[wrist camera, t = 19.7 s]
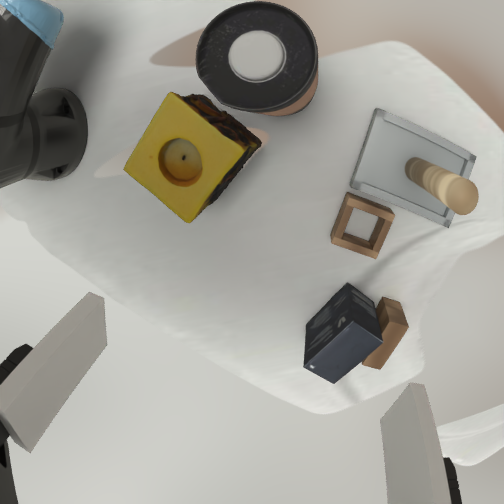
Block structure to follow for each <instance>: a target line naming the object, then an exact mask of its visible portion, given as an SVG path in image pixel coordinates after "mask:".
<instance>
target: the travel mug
mask: <svg viewBox="0 0 504 504" xmlns="http://www.w3.org/2000/svg"><path fill="white" fill-rule="evenodd" d="M196 69H197V73H198V76H199V78H200V79H201V80H202V81H203V83H204V84H205V85H206V86H207V88H208V89H209V90H210V92H211V93H212V94H213V95H214V96H215V97H216V98H217V99H218V100H219V102H220V103H222V104H224V105H226V106H228V107H231V108H234V109H238V110H242V111H248V112H254V113H260V114H265V115H271V116H283V115H290V114H294V113H297V112H299V111H301V110H303V109H304V108H305V107H306V106H307V105H308V104H309V103H310V101H311V100H312V98H313V96H314V93H315V91H316V88H317V83H318V48H317V44H316V40H315V37H314V35H313V33H312V31H311V29H310V28H309V26H308V25H307V24H306V22H305V21H304V20H303V19H302V18H301V17H300V16H299V15H297V14H296V13H295V12H293V11H292V10H290V9H288V8H286V7H284V6H281V5H278V4H275V3H271V2H262V1H254V2H246V3H242V4H238V5H235V6H233V7H230V8H228V9H226V10H224V11H223V12H221V13H220V14H218V15H217V16H216V17H215V18H214V19H213V20H212V21H211V22H210V23H209V24H208V25H207V27H206V28H205V30H204V31H203V33H202V35H201V37H200V39H199V42H198V45H197V50H196Z"/></svg>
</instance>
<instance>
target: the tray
mask: <svg viewBox="0 0 504 504" xmlns="http://www.w3.org/2000/svg"><path fill="white" fill-rule="evenodd" d="M413 157H418V158H421V159H423V160H426V161H428V162H430V163H433V164H435V165H437V166H440V167H442V168H444V169H446V170H448V171H451V172H453V173H455V174H457V175H459V176H461V177H464V178H466V179H469V177H470V174H471V171H472V168H473V166H474V163H475V160H476V156H475V155H473V154H471V153H470V152H468V151H466V150H464V149H462V148H461V147H459V146H457V145H455V144H453V143H451V142H450V141H448V140H446V139H444V138H442V137H440V136H438V135H436V134H434V133H432V132H430V131H428V130H426V129H424V128H422V127H420V126H418V125H416V124H413V123H411V122H409V121H407V120H405V119H402V118H400V117H398V116H396V115H393V114H391V113H389V112H386V111H384V110H381V109H379V108H377V109H375V111H374V114H373V117H372V120H371V124H370V127H369V130H368V133H367V136H366V139H365V142H364V145H363V148H362V150H361V153H360V156H359V159H358V162H357V165H356V168H355V171H354V173H353V176H352V179H351V182H350V186H351V188H354V189H356V190H359V191H362V192H364V193H367V194H369V195H372V196H375V197H377V198H380V199H382V200H385V201H387V202H390V203H392V204H394V205H397V206H399V207H402V208H404V209H407V210H409V211H411V212H414V213H416V214H418V215H421V216H423V217H425V218H427V219H430V220H432V221H434V222H436V223H439V224H441V225H443V226H445V227H447V228H449V226H450V224H451V221H452V219H453V217H454V214H455V212H454V211H453V210H451V209H450V208H449V207H447V206H446V205H445V204H443V203H442V202H441V201H439V200H438V199H437V198H435V197H434V196H433V195H431V194H430V193H428V192H427V191H426V190H424V189H423V188H421V187H420V186H419V185H417V184H416V183H414V182H413V181H411V180H410V179H409V178H408V177H407V176H406V174H405V164H406V162H407V161H408V160H409V159H411V158H413Z"/></svg>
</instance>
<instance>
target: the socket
mask: <svg viewBox="0 0 504 504" xmlns="http://www.w3.org/2000/svg"><path fill="white" fill-rule="evenodd" d="M354 207H355V208H357V209H360V210H363V211H365V212H368V213H371V214H373V215H376V216H378V217H379V219H378V221H377V223H376V226H375V228H374V230H373V233H372V235H371V237H370V240H369V241H366V240H364V239H361V238H358V237H355V236H353V235H350V234H347V233H344V231H345V228H346V226H347V223H348V221H349V218H350V216H351V213H352V210H353V208H354ZM394 217H395V214H394V213H393V212H392V210H391V209H390V208H388V207H385V206H383V205H380V204H378V203H375V202H373V201H370V200H368V199H365V198H362V197H360V196H357V195H354V194H352V193H349V192H347V193H346V195H345V198H344V201H343V203H342V206H341V209H340V211H339V214H338V217H337V219H336V222H335V224H334V227H333V230H332V232H331V243H332V244H335V245H338V246H340V247H343V248H346V249H349V250H352V251H355V252H357V253H360V254H363V255H366V256H369V257H371V258H374V259H376V258H377V256H378V253H379V251H380V249H381V247H382V245H383V242H384V240H385V238H386V236H387V233H388V231H389V229H390V226H391V224H392V222H393V219H394Z"/></svg>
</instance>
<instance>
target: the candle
mask: <svg viewBox="0 0 504 504" xmlns="http://www.w3.org/2000/svg"><path fill="white" fill-rule="evenodd" d="M261 144H262V142H261V141H260V139H259V138H258V137H256V136H255V135H254V134H252V133H251V132H250V131H249V130H247V128H246V127H244V126H243V125H242V124H241V123H240V122H238V121H237V120H235V118H234V117H232V116H231V115H230V114H227V112H226V111H219V110H218V109H217V108H216V107H215V106H214V105H213V104H212V102H211V101H210V99H208V98H207V97H205V96H204V95H194V94H191V95H188V96H186V97H184V96H180V95H179V94H176V93H173V92H170V93H168V95H167V96H166V98H165V99H164V101H163V102H162V104H161V106H160V107H159V109H158V111H157V112H156V114H155V115H154V117H153V119H152V121H151V122H150V124H149V126H148V127H147V129H146V131H145V133H144V134H143V136H142V138H141V139H140V141H139V143H138V144H137V146H136V148H135V149H134V151H133V153H132V155H131V156H130V158H129V159H128V161H127V163H126V165H125V167H124V170H125V171H126V172H127V173H128V174H129V175H130V176H131V177H133V178H134V179H135V180H136V181H137V182H139V183H140V184H141V185H142V186H144V187H145V188H146V189H148V190H149V191H150V192H151V193H152V194H154V195H155V196H156V197H157V198H158V199H159V200H161V201H162V202H163V203H164V204H165V205H166V206H167V207H168V208H169V209H171V210H172V211H173V212H174V213H175V214H177V215H178V216H179V217H180V218H181V219H182V220H184V221H185V222H186V223H191V222H192V221H193V220H194V219H195V218H196V217H197V216H198V215H199V214H200V213H201V212H202V210H204V209H205V208H206V207H207V206H208V205H211V204H212V203H213V202H214V201H215V200H217V199H218V197H219V196H220V194H221V193H222V192H223V190H224V189H226V188H227V186H228V184H229V183H230V182H231V181H232V179H233V178H234V177H235V176H236V175H237V173H238V172H239V171H240V170H241V168H243V165H244V164H245V163H246V161H247V160H248V159H249V158H250V157H251V156H252V154H253V153H254V152H255V151H256V150H257V149H258V148H259V147H261Z"/></svg>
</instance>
